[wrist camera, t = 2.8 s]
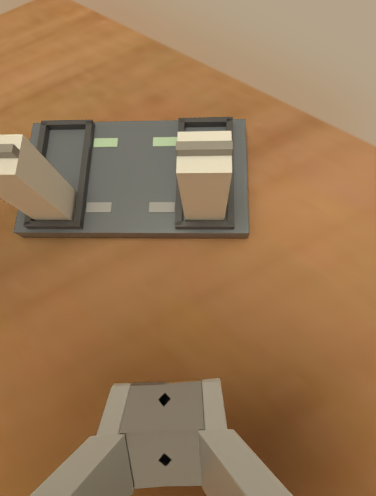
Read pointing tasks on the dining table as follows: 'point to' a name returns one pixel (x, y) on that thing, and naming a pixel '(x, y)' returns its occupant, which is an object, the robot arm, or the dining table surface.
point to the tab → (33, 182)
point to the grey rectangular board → (133, 179)
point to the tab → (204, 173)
